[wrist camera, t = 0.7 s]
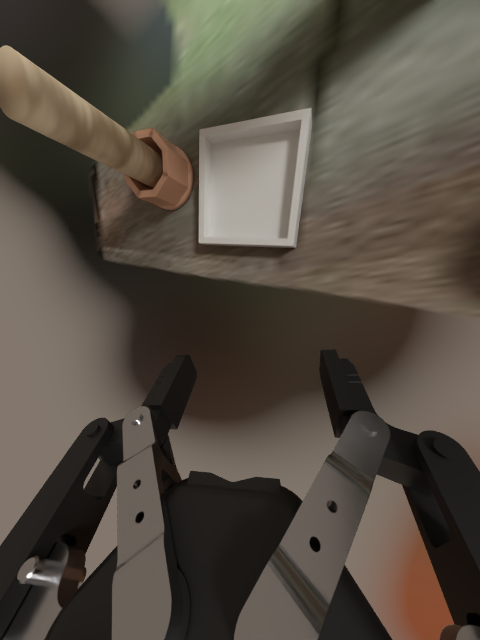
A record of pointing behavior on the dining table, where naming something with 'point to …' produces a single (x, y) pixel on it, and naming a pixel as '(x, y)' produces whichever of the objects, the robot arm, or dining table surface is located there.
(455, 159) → the dining table surface
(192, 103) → the dining table surface
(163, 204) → the sleeve cup
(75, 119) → the wood rod
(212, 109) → the dining table surface
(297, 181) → the grey tray
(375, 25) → the dining table surface
